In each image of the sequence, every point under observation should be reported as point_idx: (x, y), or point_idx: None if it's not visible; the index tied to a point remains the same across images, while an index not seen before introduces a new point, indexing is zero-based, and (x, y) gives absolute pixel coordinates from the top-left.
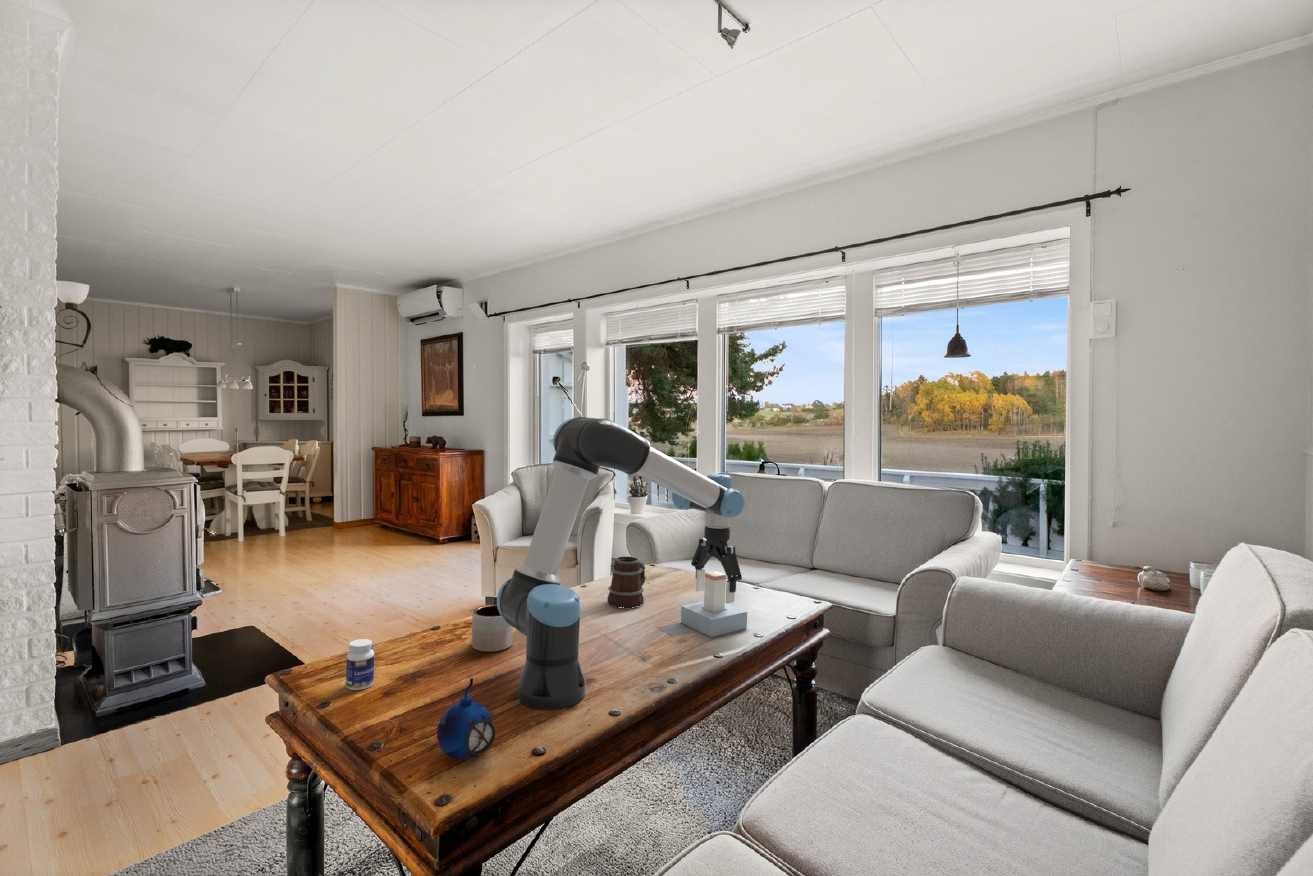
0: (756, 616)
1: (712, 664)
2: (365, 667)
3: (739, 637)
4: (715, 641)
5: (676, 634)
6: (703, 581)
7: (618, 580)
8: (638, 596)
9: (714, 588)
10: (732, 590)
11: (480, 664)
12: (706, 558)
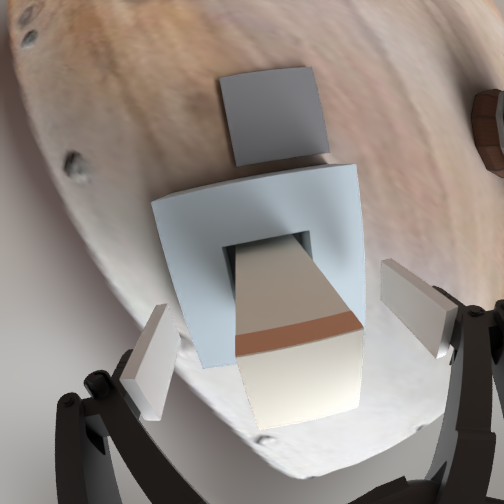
0: None
1: (42, 132)
2: None
3: (172, 290)
4: None
5: (226, 93)
6: (402, 315)
7: None
8: (496, 144)
9: (236, 308)
10: (121, 358)
11: None
12: (451, 419)
